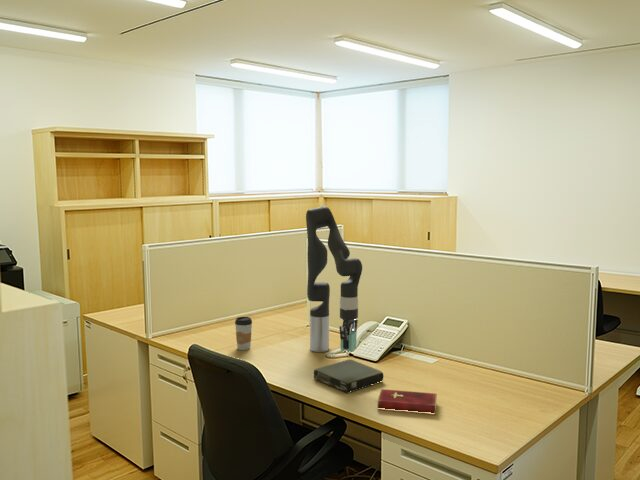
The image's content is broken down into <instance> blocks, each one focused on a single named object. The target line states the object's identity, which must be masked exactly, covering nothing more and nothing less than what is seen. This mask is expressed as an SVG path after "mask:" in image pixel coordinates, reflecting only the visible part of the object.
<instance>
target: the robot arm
mask: <svg viewBox="0 0 640 480" xmlns="http://www.w3.org/2000/svg"><path fill="white" fill-rule="evenodd" d="M335 219H336V218H335V217H334V215H333V212H332V211H331V208H329V207H328V206H327V205H326V206H325V205H324V206H319V207H318V206H317V207H314V208H309V209H308V210H307V211H306V213H305V220H306V221H305V223H306V235H307V273H308V274H307V285H306V286H307V287H306V288H307V290H306V295H307V299H308V301H309V302H322V303H321V304H319V305H317V306H315V307H312V308H310V311H309V315H310V316H309V321H310V322H309V329H310V330H309V349H310V351H311V352H316V353H324V352H325V353H326V352H328V351H329V350H330V295H331V294H330V293H331V290H330V289H331V287H330V284H329V283H328V282H324V281H323V282H322V281H321V282H316V281H317V279H318V277H319V275H320V274H321V273H322V272H323V270H324V269H325V268H326V266H327V264H328V250H329V251H330V253H331V255H332V257H333V259H334V264H335V270H336V272H337V274H338V275H340V276H341V277H348V279H347V280H344V281H342V282H341V283H340V296H339V297H340V298H339V319H342V325H339V336H340V341H341V340H343V348H344V349H348V348H349V335H350V334H351V332H358V331H357V330H358V321H359V319H358V318H359V298H358V296H359V295H358V293H359V291H358V290H359V289H358V288H359V283H360V279H361V276H362V272H363V264H362V261H361V260H360V259H359V258H356V257H355V258H354V257H353V258H350V254H351V253H350V252H351V251H350V249H349V248H348V246H347V244H346V242H345V241H344V239H343V237H342V234H341V233H340V229H339V228H338V225H337V222H336V220H335ZM326 227H327V228H328V229H329V234H328V238H327V247H328V249H327V247H326V245H325V244H324V242H322V241H321V239H320V238H319V236H318V235H317V230H318V229H322V228H326ZM347 332H348V333H347ZM342 335H343V336H342Z"/></svg>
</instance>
